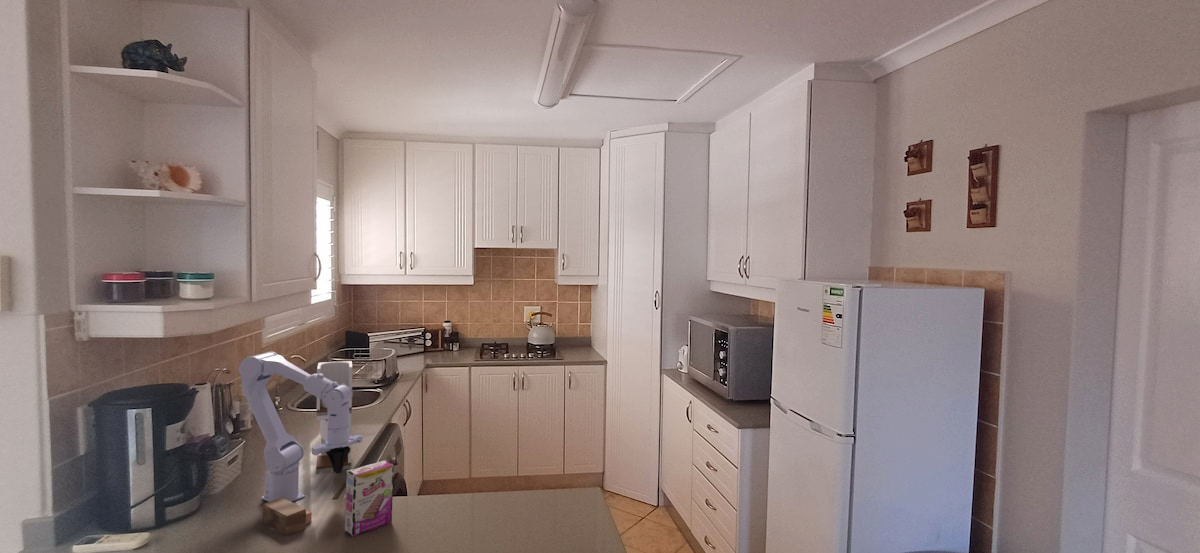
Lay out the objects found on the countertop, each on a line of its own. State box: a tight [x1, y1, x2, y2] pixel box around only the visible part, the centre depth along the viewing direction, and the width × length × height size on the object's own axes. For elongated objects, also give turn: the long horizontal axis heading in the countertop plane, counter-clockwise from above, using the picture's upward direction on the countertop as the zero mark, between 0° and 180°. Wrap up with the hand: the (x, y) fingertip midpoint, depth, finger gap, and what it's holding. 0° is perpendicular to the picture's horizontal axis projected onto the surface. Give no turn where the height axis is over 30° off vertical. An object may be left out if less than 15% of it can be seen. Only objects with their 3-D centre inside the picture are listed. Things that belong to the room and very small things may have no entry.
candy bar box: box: [344, 460, 394, 537], centre depth 147 cm, size 11×5×16 cm, turn 141°
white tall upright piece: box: [315, 360, 353, 474], centre depth 188 cm, size 11×11×35 cm
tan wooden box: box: [262, 498, 307, 537], centre depth 146 cm, size 12×5×5 cm, turn 58°
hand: (337, 472), depth 161 cm, fingers closed
